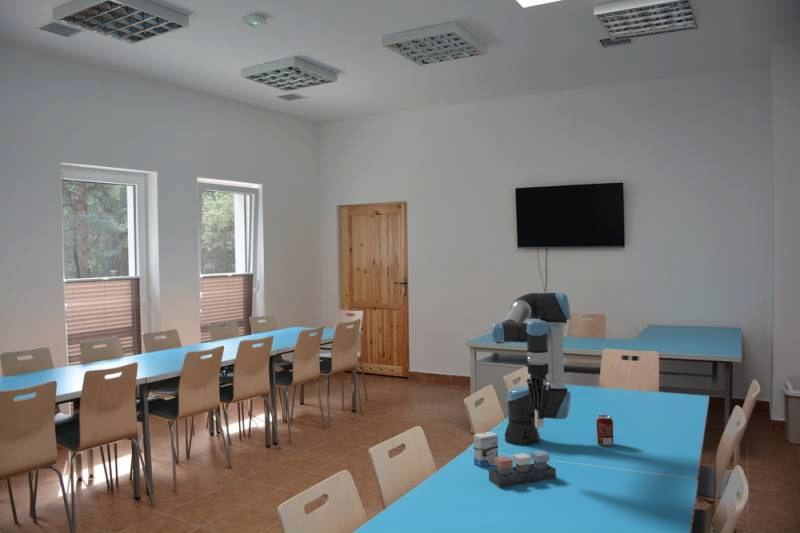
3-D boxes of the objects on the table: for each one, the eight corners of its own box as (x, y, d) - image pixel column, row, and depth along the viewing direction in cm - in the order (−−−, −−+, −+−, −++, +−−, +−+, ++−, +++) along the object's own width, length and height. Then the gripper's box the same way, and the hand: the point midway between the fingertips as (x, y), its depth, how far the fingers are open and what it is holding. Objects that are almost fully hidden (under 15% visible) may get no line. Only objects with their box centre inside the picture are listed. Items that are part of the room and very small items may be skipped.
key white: (519, 473, 221) (519, 458, 221) (513, 469, 226) (512, 454, 226) (531, 471, 223) (531, 457, 223) (524, 467, 227) (524, 453, 227)
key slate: (538, 470, 224) (537, 456, 224) (531, 466, 228) (530, 452, 228) (549, 469, 225) (549, 454, 225) (542, 464, 230) (542, 450, 230)
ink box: (481, 468, 237) (480, 437, 237) (473, 464, 242) (472, 434, 242) (499, 464, 241) (498, 434, 241) (491, 460, 246) (490, 430, 245)
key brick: (501, 476, 219) (500, 461, 219) (494, 472, 223) (494, 457, 223) (513, 474, 220) (512, 459, 220) (506, 470, 225) (506, 455, 225)
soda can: (614, 447, 257) (613, 418, 257) (597, 446, 259) (597, 418, 258) (612, 442, 264) (611, 414, 264) (595, 441, 265) (595, 414, 265)
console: (499, 487, 217) (499, 478, 217) (489, 480, 225) (488, 470, 224) (555, 478, 224) (555, 469, 224) (544, 471, 232) (543, 462, 232)
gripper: (519, 361, 231) (521, 423, 231) (538, 366, 218) (539, 432, 219) (537, 359, 233) (538, 421, 234) (556, 365, 221) (558, 430, 221)
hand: (539, 426), depth 226 cm, fingers closed
